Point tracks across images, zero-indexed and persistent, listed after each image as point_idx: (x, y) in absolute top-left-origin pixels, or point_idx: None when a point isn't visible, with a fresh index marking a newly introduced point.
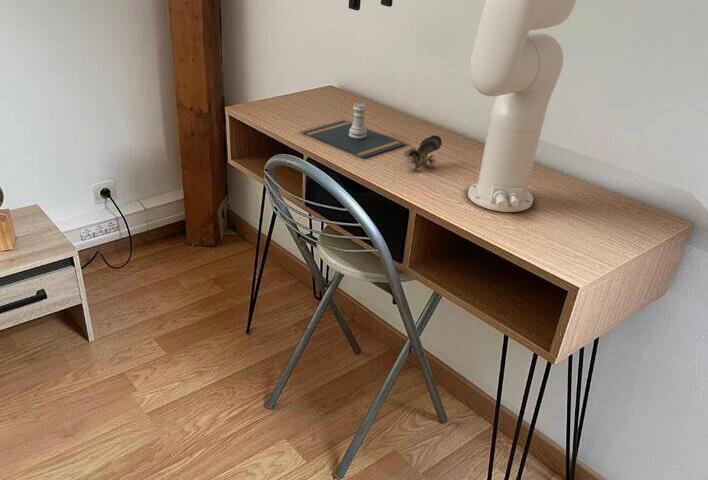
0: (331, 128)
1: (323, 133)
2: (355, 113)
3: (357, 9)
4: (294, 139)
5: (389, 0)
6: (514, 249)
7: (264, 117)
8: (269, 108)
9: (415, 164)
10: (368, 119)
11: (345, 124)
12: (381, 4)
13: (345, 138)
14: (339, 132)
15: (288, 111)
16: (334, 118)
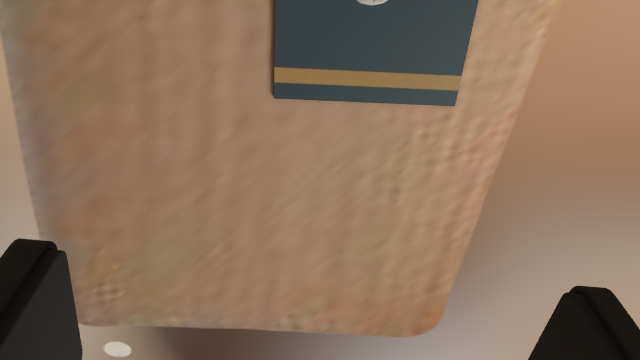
0: (364, 72)
1: (421, 56)
2: None
3: (607, 293)
4: (518, 82)
5: (31, 305)
6: None
7: (423, 252)
8: (356, 290)
9: None
10: (180, 61)
11: (296, 70)
12: (72, 352)
13: None
14: (374, 28)
15: (335, 250)
16: (272, 137)
